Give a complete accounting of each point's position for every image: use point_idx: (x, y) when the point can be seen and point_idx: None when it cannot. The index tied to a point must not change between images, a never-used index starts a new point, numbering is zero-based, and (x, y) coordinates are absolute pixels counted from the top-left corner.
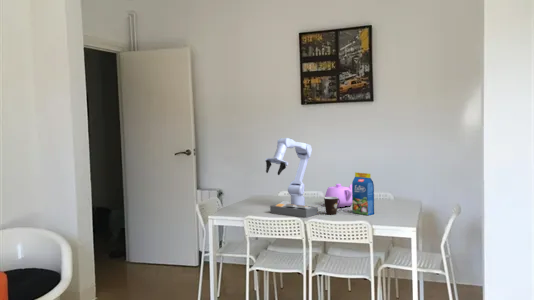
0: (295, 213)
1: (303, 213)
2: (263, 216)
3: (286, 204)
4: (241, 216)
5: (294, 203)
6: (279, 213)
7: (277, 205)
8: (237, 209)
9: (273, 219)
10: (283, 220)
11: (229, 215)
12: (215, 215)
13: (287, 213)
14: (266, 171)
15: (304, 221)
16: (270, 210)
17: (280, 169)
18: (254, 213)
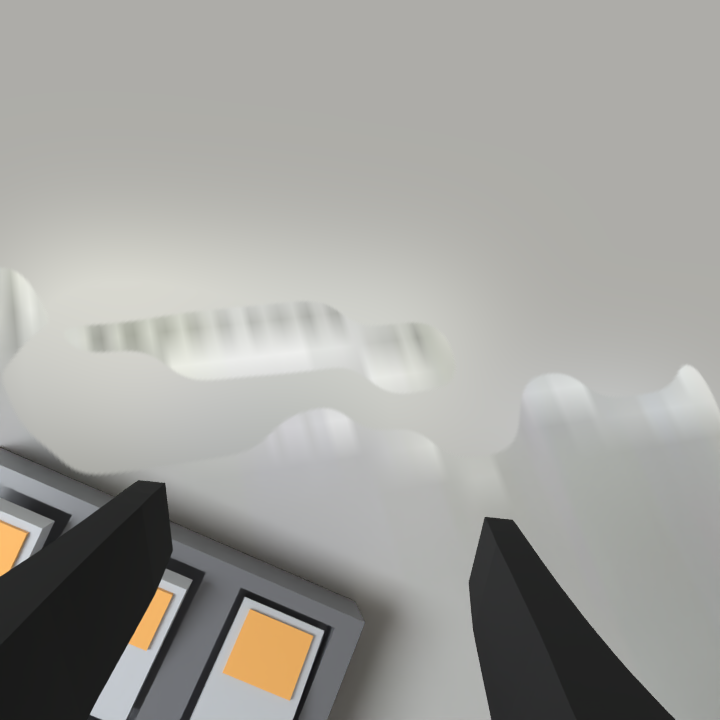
0: (95, 494)
1: (6, 458)
2: (369, 446)
3: (178, 584)
4: (527, 421)
5: None
6: (263, 562)
7: (294, 643)
8: (671, 704)
9: (264, 347)
10: (180, 321)
11: (621, 444)
12: (709, 429)
13: (180, 529)
14: (496, 523)
15: (3, 304)
16: (356, 607)
17: (18, 564)
18: None
